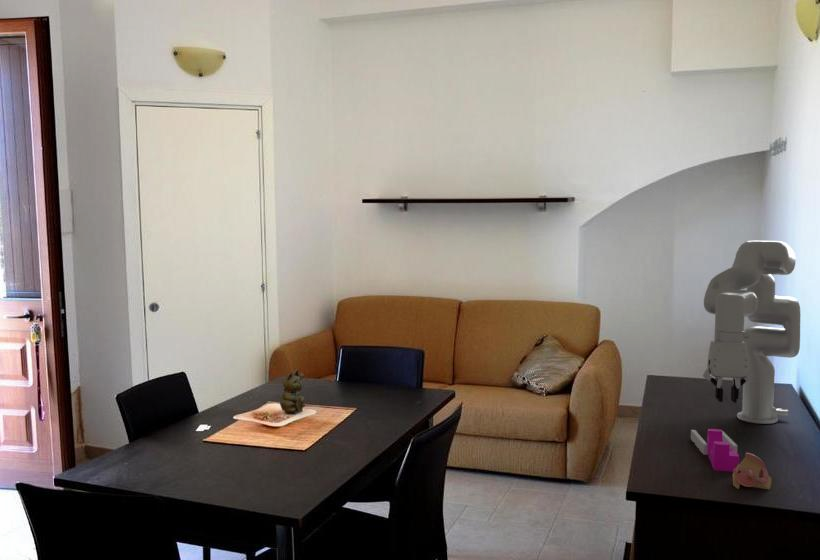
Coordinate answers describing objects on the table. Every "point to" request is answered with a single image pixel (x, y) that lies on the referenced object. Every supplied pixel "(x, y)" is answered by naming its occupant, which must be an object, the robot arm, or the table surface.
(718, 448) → the toy block
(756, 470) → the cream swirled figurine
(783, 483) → the table surface
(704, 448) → the guide channel
